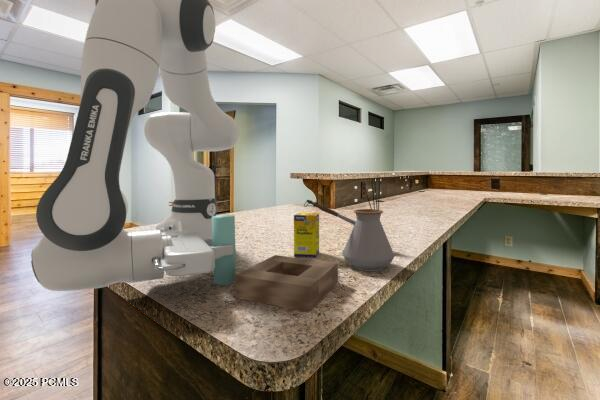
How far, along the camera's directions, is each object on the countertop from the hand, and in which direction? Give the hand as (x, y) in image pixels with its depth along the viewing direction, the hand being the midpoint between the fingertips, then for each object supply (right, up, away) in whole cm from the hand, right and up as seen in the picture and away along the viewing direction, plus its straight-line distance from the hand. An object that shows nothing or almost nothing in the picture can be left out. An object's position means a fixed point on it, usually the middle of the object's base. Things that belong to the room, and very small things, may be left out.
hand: (228, 245), depth 61 cm
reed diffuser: (+35, -5, +24) cm, 43 cm away
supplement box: (+16, -5, +20) cm, 26 cm away
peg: (-1, -7, 0) cm, 7 cm away
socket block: (+12, -7, -5) cm, 15 cm away
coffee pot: (+25, -6, +11) cm, 28 cm away
